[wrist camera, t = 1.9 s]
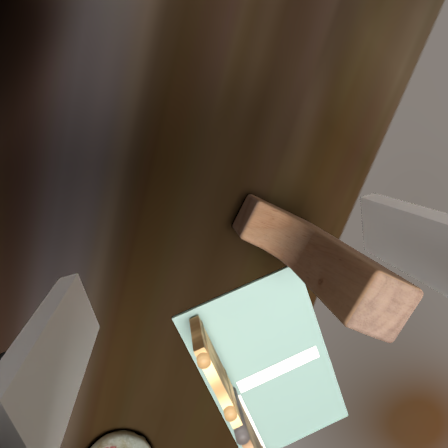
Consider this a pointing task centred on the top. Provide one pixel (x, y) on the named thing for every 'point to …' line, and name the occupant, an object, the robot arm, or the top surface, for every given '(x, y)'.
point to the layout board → (271, 357)
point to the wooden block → (331, 270)
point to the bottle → (121, 440)
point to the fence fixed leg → (245, 429)
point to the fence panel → (214, 372)
